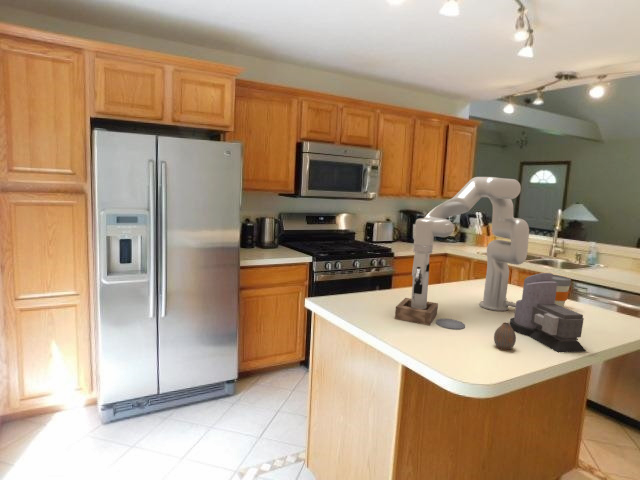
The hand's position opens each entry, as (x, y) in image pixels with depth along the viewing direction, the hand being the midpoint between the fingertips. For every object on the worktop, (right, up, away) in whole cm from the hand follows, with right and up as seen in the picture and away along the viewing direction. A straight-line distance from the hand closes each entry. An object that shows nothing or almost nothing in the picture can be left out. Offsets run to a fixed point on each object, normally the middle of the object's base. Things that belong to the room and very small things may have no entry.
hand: (419, 291), depth 170 cm
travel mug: (0, -8, +1) cm, 8 cm away
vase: (+23, -16, -27) cm, 39 cm away
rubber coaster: (+11, -13, -6) cm, 18 cm away
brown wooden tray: (-1, -11, +1) cm, 11 cm away
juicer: (+43, -16, -13) cm, 48 cm away
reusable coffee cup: (+70, -11, +26) cm, 75 cm away
